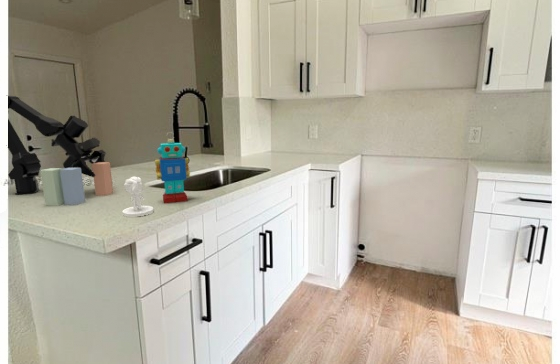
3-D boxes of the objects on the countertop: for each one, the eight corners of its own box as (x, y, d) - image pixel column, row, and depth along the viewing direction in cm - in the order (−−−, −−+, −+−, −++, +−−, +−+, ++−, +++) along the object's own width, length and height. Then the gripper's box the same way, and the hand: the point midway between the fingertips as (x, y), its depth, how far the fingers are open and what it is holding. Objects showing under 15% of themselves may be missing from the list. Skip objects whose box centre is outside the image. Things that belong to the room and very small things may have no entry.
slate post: (64, 204, 115) (59, 169, 112) (73, 201, 119) (69, 167, 117) (76, 204, 114) (72, 169, 112) (85, 201, 119) (80, 167, 116)
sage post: (45, 205, 114) (40, 170, 111) (55, 202, 118) (50, 168, 115) (57, 205, 113) (52, 170, 111) (67, 202, 118) (62, 168, 115)
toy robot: (159, 204, 115) (153, 133, 110) (158, 199, 121) (152, 132, 115) (192, 200, 120) (188, 132, 114) (189, 196, 125) (185, 131, 120)
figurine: (134, 219, 99) (130, 180, 96) (116, 214, 104) (112, 177, 101) (159, 211, 106) (156, 175, 104) (141, 207, 111) (138, 173, 109)
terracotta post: (95, 195, 128) (91, 163, 125) (102, 192, 132) (99, 162, 129) (106, 195, 127) (102, 164, 125) (113, 192, 132) (109, 162, 129)
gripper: (65, 132, 116) (99, 163, 117) (98, 130, 134) (127, 156, 135) (48, 154, 118) (81, 184, 119) (83, 149, 136) (111, 175, 138)
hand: (101, 174), depth 128 cm, fingers open, 9 cm apart
